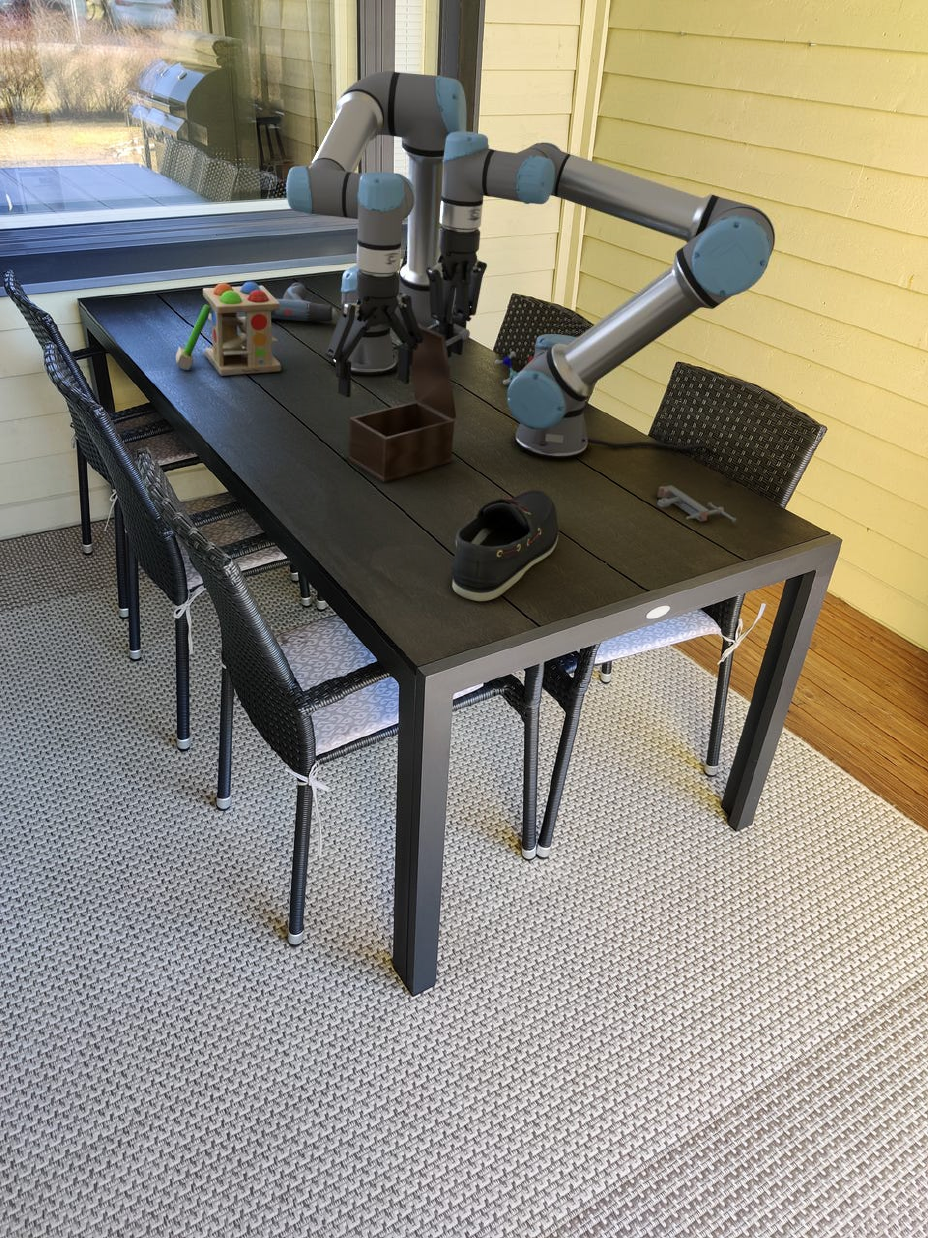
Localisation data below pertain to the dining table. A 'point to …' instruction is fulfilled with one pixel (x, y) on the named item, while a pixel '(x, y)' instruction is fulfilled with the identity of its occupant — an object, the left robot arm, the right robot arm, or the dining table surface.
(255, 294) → the pounding bench toy
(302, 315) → the power drill
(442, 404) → the lid
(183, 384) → the dining table surface
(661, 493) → the clamp
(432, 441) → the chest
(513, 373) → the molecular model
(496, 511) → the boat shoe
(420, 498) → the dining table surface
